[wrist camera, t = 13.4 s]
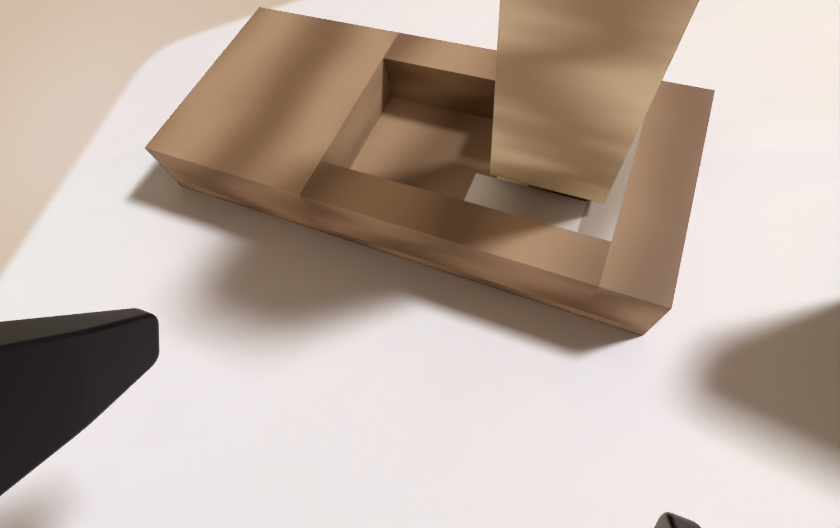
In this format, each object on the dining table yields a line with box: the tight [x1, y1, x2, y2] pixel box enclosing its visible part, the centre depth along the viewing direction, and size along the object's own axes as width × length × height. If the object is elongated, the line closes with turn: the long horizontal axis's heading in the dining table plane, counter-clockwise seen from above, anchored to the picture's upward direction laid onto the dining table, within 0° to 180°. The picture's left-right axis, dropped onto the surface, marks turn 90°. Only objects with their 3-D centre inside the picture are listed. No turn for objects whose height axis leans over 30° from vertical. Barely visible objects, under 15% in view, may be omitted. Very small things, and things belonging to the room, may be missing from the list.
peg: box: [490, 0, 699, 204], centre depth 15 cm, size 5×5×15 cm
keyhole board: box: [145, 7, 715, 335], centre depth 23 cm, size 24×11×3 cm, turn 67°
